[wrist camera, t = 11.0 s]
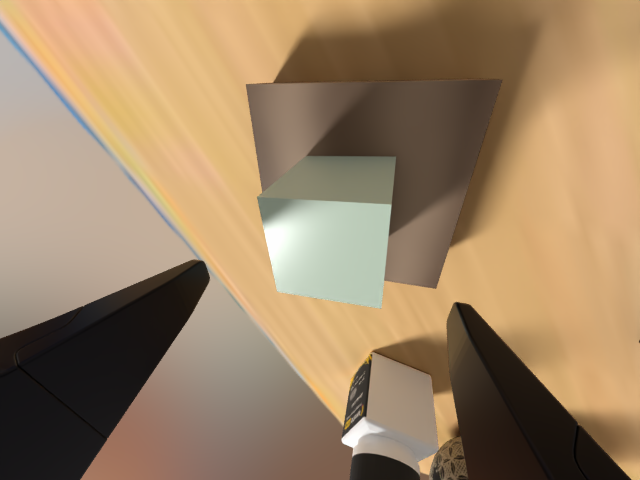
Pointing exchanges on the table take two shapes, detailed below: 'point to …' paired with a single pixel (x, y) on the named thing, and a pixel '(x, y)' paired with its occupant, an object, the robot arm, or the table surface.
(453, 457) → the decorative egg
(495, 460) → the robot arm
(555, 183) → the table surface
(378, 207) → the sage pill box
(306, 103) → the walnut block
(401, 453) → the medicine bottle
